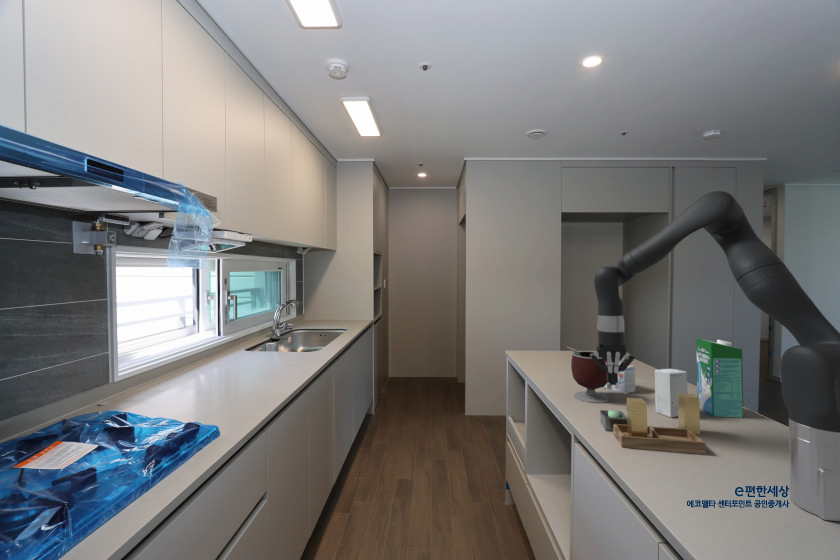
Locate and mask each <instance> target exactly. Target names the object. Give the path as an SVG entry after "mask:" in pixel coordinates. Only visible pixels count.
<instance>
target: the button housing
mask: <svg viewBox="0 0 840 560" xmlns="http://www.w3.org/2000/svg"><path fill="white" fill-rule="evenodd" d="M608 411H609V410H602V409H600V410H599V413H600V424H601V425H602V427H603V429H604V431H606V432H608V431H609V432H613V424H623V425H627V415H625V413H624V412H623V411H619V410H617V411H618V412H619V413H620V417H608Z"/></svg>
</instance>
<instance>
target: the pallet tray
mask: <svg viewBox="0 0 840 560" xmlns="http://www.w3.org/2000/svg"><path fill="white" fill-rule="evenodd" d="M612 434H613V436H614V437H615V439H616V440H617V442H618V443H619V445H620V447H621V448H624V449H636V450H647V451H648V450H649V451H650V450H651V451H658V452H659V451H661V452H671V453H672V452H674V453H684V454H685V453H686V454H697V455H706V442H704V441H703V439H701V438H700V437H699V436H697V435H695V434H694V433H693V432H692V431H691V430H689V429H680V428H679V427H678V428H677V427H664V426H662V427H661V426H651V425H650V426H648V425H647V436H648V438H647V437H634V436H628V435H627V425H623V424H613V431H612Z"/></svg>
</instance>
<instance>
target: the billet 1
mask: <svg viewBox="0 0 840 560" xmlns="http://www.w3.org/2000/svg"><path fill="white" fill-rule="evenodd" d="M647 404H648V403H647V402H646V401H645V400H644V399H643V398H641V397H639V398H638V397H626V417H627V435H628V436H634V437H647V438H648V436H647V426H648V405H647Z"/></svg>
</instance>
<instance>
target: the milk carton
mask: <svg viewBox="0 0 840 560" xmlns="http://www.w3.org/2000/svg"><path fill="white" fill-rule="evenodd" d="M695 340H696V341H695V343H696V345H695V346H696V384H697V385H696V388H697V389H696V391H697V395H696V396H697V397H698V398H699V405H700V410H702V411H704V412H706V413H707V414H708V415H710V416H711V417H717V418H718V417H719V418H740V419H744V418H745V417H744V415H745V414H744V382H743V381H744V379H743V377H744V375H743V373H744V372H743V368H744V367H743V349H741V348H740V347H739V348H738V347H735V346H732V342H730V341H726V340H722V339H717V340H716V341H712V340H707V339H703V338H700V337H699V338H698V337H696V338H695ZM742 407H743V408H742Z"/></svg>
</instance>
